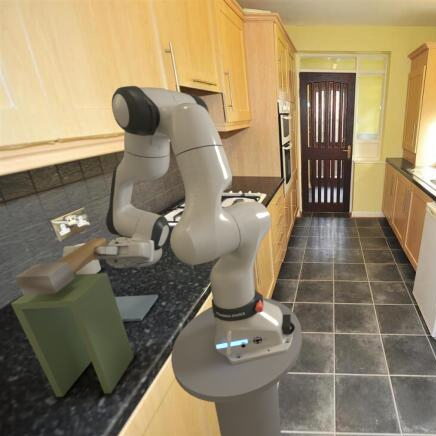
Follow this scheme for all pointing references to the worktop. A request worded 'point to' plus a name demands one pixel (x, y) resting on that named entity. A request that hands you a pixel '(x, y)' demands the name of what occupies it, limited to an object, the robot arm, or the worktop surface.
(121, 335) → the green arch block
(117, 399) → the worktop surface
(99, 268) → the beverage can
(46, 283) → the mallet
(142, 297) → the mat
